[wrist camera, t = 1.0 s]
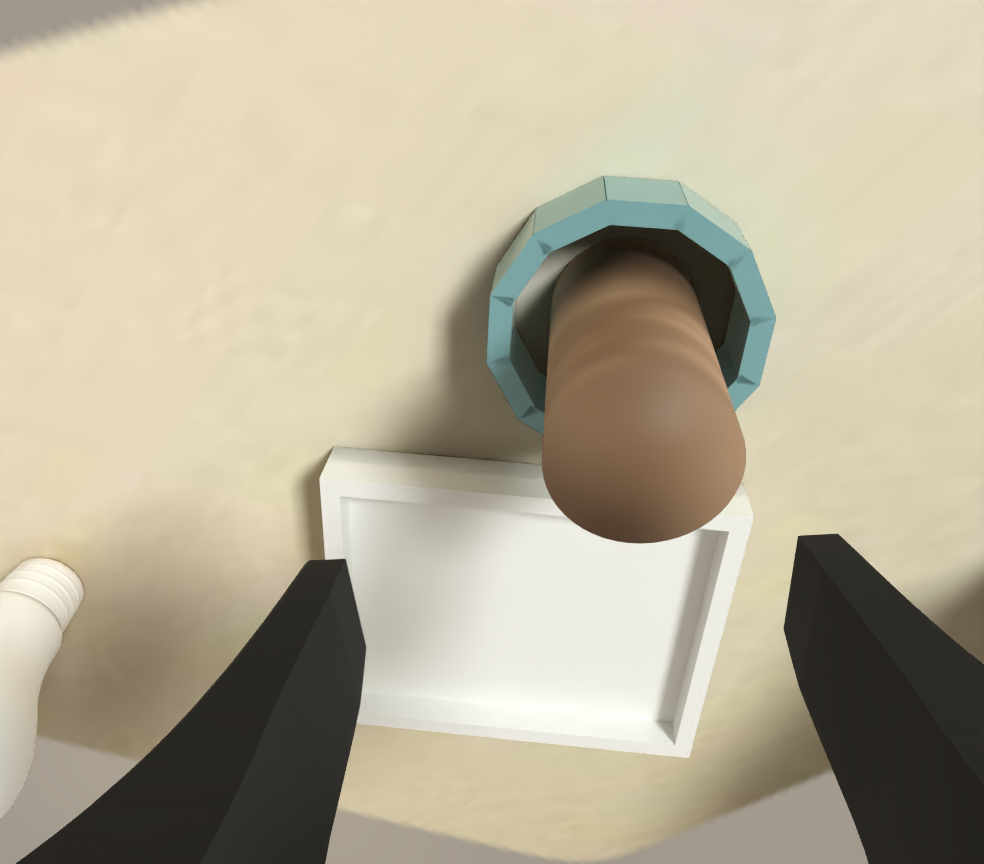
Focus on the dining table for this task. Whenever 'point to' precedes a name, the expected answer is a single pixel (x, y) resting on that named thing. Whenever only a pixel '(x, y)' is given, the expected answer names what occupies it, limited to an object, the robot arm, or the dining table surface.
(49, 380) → the dining table surface
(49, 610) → the lightbulb
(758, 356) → the teal ring
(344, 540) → the tray
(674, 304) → the dowel
